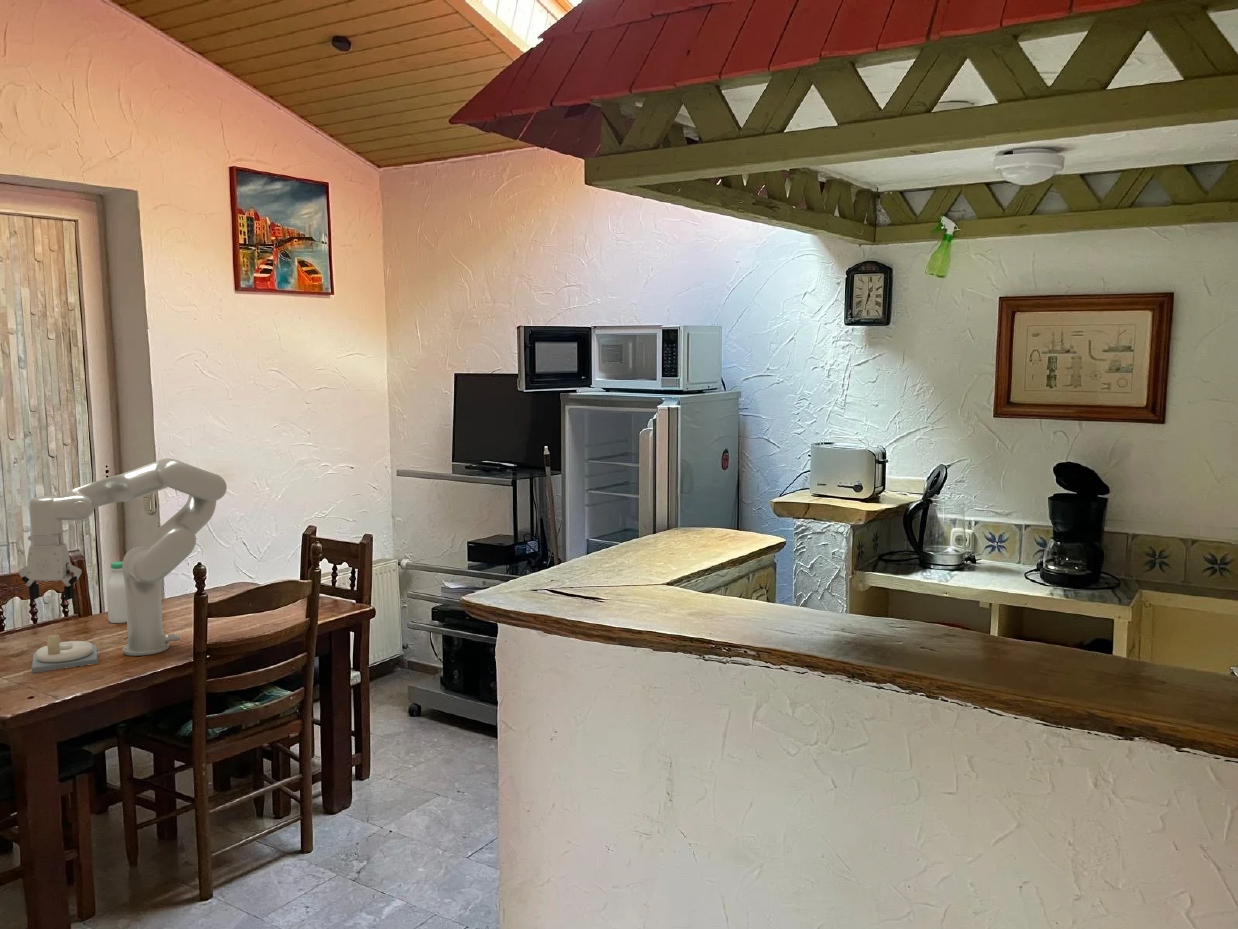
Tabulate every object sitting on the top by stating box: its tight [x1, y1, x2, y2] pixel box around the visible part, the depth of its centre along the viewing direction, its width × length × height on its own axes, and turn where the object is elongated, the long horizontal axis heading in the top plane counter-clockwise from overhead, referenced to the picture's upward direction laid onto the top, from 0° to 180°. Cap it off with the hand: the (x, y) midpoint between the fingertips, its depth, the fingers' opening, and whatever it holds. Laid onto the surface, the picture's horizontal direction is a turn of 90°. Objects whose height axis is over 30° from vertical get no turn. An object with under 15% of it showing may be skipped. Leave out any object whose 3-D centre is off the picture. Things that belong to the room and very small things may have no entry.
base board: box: [31, 644, 99, 674], centre depth 268 cm, size 16×16×2 cm
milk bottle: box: [106, 561, 127, 624], centre depth 309 cm, size 8×8×20 cm
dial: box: [36, 634, 93, 662], centre depth 267 cm, size 14×14×7 cm
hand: (52, 599), depth 261 cm, fingers open, 9 cm apart
